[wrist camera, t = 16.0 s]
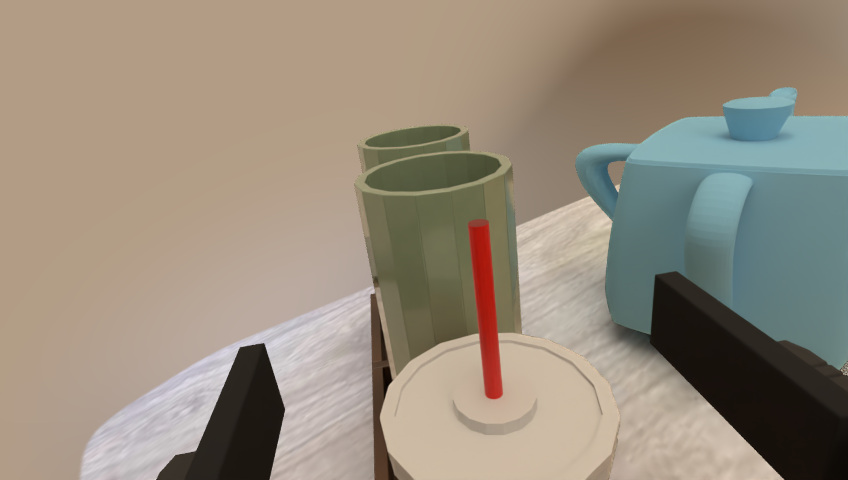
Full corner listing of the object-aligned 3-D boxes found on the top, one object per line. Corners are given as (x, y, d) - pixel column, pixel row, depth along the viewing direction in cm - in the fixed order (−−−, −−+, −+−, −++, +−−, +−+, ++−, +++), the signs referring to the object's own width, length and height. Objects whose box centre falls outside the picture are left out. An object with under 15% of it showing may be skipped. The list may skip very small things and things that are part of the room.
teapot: (1012, 394, 22) (1149, 96, 17) (651, 420, 23) (673, 150, 18) (762, 240, 38) (791, 69, 33) (561, 260, 40) (559, 98, 35)
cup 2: (386, 473, 22) (324, 194, 17) (433, 389, 27) (397, 152, 22) (510, 509, 20) (485, 195, 14) (537, 409, 25) (525, 148, 19)
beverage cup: (397, 686, 14) (283, 284, 9) (451, 505, 19) (401, 184, 14) (613, 767, 12) (641, 303, 7) (608, 540, 17) (621, 177, 12)
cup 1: (381, 368, 30) (336, 150, 24) (419, 317, 34) (389, 127, 29) (471, 384, 27) (444, 146, 22) (497, 326, 32) (481, 121, 27)
